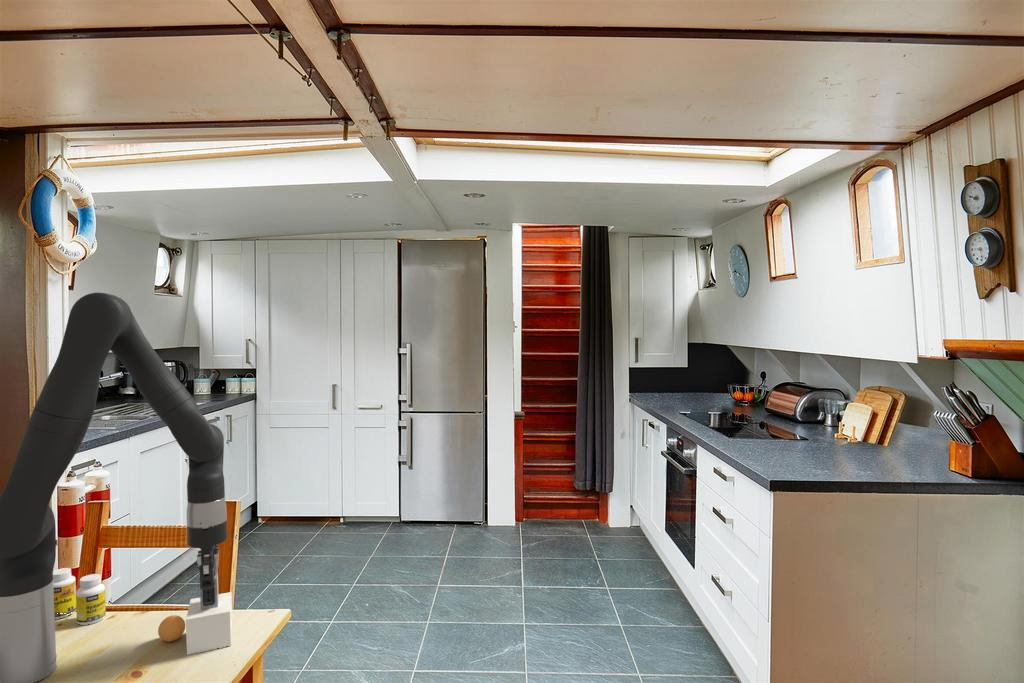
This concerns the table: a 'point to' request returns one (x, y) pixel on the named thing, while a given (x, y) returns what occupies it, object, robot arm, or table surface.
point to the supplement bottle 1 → (64, 592)
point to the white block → (209, 622)
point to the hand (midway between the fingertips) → (209, 600)
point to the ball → (171, 628)
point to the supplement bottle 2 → (90, 600)
